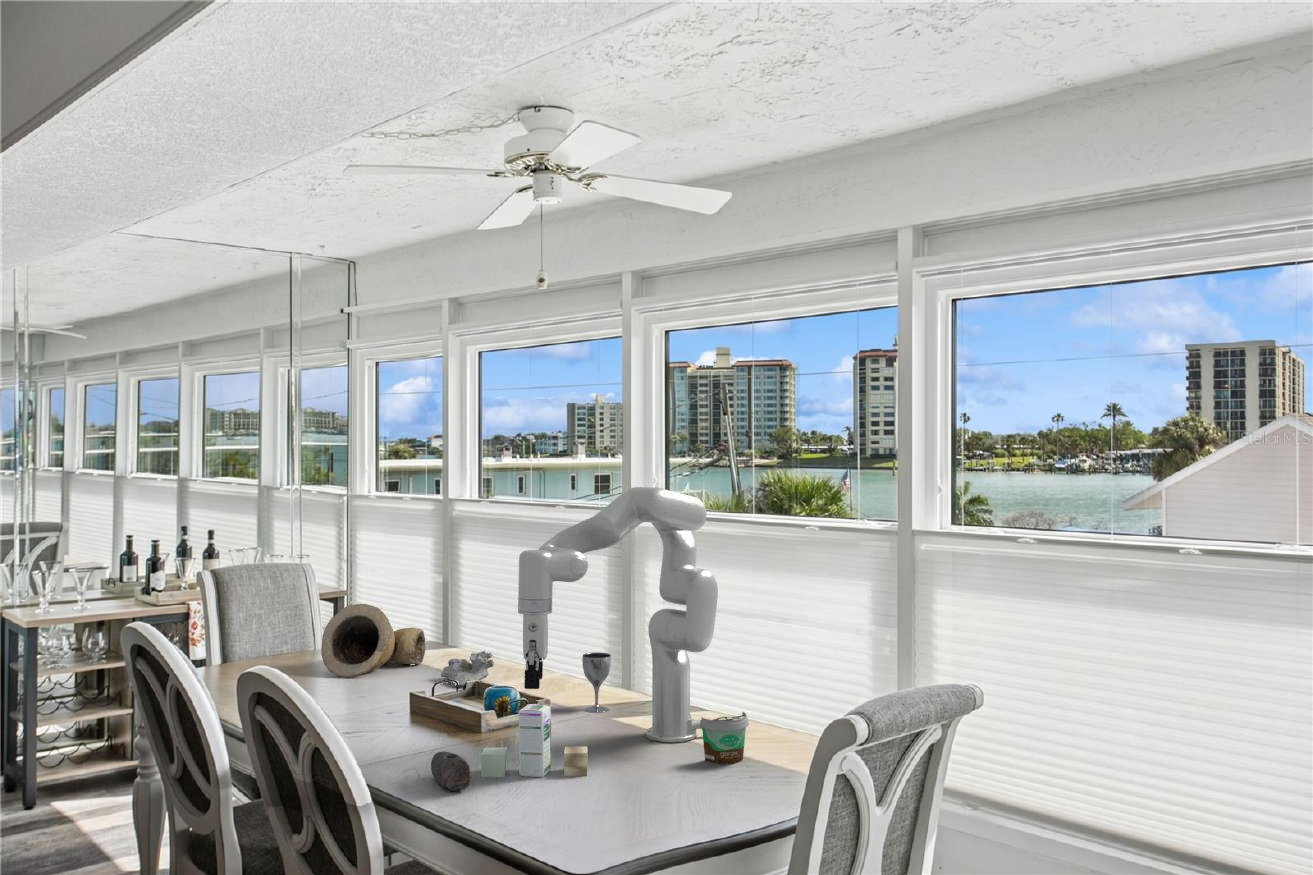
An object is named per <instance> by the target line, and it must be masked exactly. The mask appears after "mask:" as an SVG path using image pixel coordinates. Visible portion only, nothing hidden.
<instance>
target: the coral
mask: <svg viewBox="0 0 1313 875" xmlns="http://www.w3.org/2000/svg"><path fill="white" fill-rule="evenodd" d="M493 656H494V655H493V654H492V652H486V651H485V650H484V651H480V652H477V653H474V652H471V654H470V656H469V661H470V662H469V661H468V660H467V659H465V658H451V659H449V660H448V662H447V664H448V666H444V667H443V668H442V672H441V674H440V677H442V678H445V679H453V680H458V681H459V686H458V687H463V686H466V685H465V683H466V682H467V681H471V680H479V681H481V680H482V679H486V678H487V677H488V676H489V671H488V669H491V668H493V667H495V662H494V660H493V659H491V658H492V657H493ZM451 684H452V686H453V687H456V686H455V683H453V682H452V683H451Z"/></svg>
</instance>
